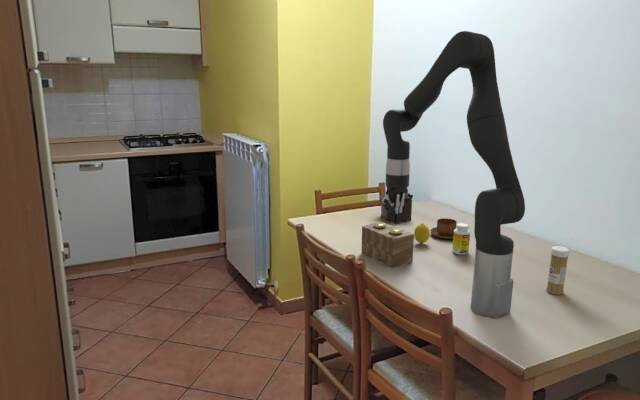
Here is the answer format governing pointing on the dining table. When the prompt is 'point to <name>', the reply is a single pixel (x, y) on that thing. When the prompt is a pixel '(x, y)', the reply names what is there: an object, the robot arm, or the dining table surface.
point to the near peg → (395, 231)
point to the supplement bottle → (461, 239)
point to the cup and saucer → (444, 228)
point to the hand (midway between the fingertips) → (395, 223)
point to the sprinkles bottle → (557, 270)
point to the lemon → (421, 233)
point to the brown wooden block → (387, 245)
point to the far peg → (379, 225)
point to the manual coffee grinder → (404, 215)
